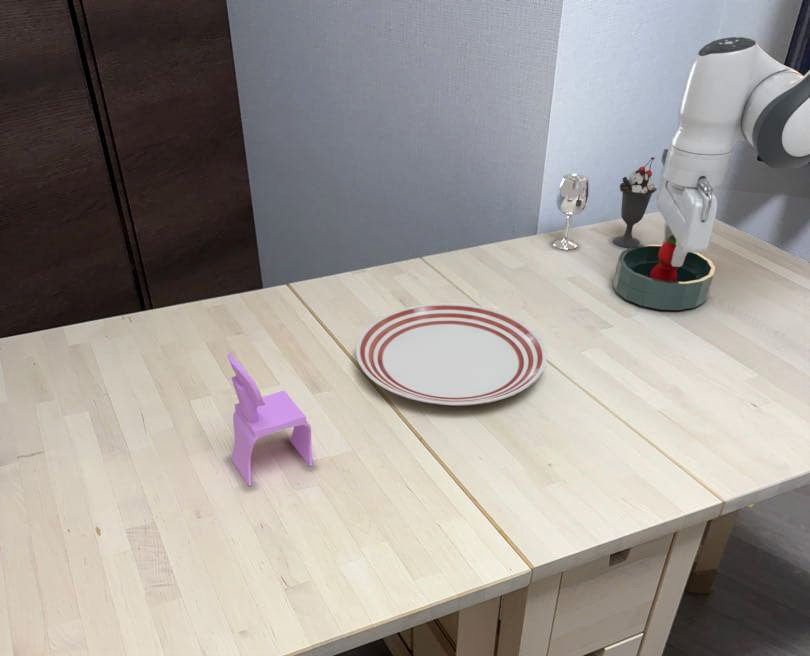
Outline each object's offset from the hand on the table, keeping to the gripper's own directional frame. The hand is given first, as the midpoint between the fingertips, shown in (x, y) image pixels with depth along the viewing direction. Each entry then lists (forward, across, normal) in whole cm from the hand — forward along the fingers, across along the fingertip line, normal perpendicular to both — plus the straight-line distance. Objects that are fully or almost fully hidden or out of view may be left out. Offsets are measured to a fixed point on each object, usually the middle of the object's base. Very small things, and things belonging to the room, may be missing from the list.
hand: (671, 257), depth 121 cm
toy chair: (+7, -49, +58) cm, 76 cm away
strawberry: (+6, +2, 0) cm, 7 cm away
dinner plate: (+7, -25, +36) cm, 44 cm away
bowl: (+7, +2, 0) cm, 7 cm away
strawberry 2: (+2, 0, 0) cm, 2 cm away
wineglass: (+7, +21, +14) cm, 26 cm away
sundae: (+7, +23, +2) cm, 24 cm away
